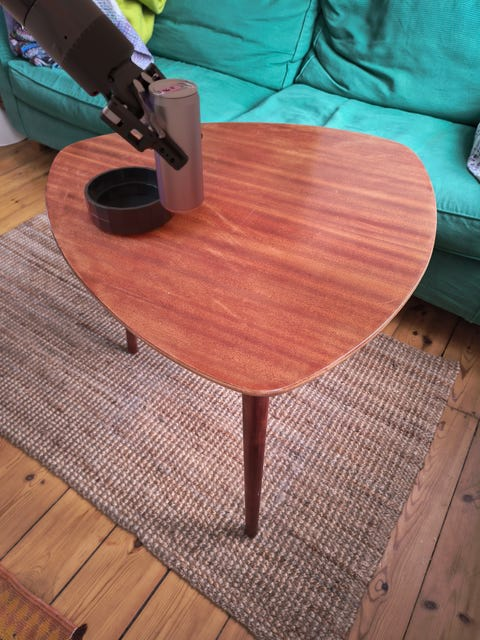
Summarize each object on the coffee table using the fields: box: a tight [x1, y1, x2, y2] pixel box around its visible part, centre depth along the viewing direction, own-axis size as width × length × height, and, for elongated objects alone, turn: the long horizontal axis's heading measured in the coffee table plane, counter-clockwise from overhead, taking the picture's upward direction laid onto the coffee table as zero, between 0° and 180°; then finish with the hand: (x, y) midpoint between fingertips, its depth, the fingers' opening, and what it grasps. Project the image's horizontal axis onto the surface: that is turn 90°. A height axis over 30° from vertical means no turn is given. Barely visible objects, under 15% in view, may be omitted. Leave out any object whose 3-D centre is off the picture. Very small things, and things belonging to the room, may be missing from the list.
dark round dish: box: [83, 165, 175, 236], centre depth 84 cm, size 15×15×6 cm
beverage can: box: [148, 78, 205, 214], centre depth 58 cm, size 6×6×15 cm
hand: (191, 153), depth 58 cm, fingers closed on beverage can, 6 cm apart
